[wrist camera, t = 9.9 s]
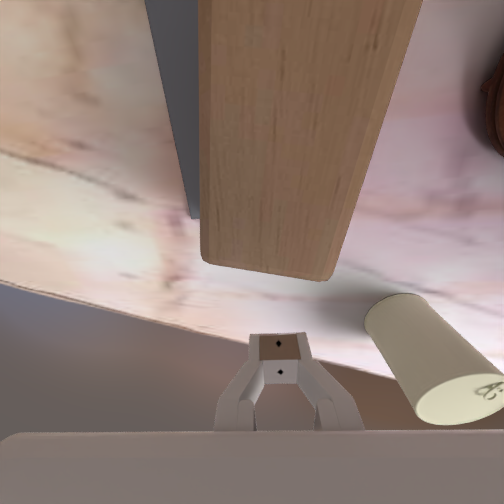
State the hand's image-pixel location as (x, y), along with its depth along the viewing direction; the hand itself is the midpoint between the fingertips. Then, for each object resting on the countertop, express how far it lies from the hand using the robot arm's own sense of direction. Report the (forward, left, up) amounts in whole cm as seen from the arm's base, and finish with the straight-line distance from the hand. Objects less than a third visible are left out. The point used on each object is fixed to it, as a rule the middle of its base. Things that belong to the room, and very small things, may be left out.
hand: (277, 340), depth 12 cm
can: (-19, +15, -16) cm, 29 cm away
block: (0, -1, -10) cm, 10 cm away
